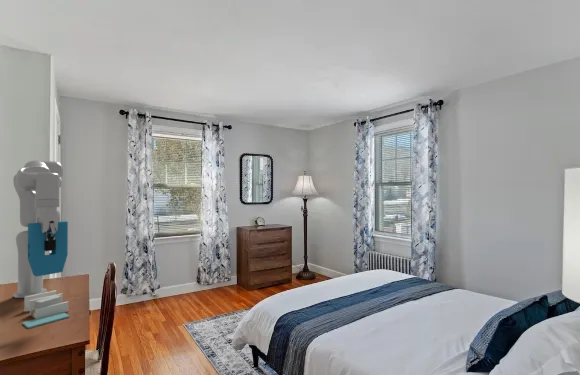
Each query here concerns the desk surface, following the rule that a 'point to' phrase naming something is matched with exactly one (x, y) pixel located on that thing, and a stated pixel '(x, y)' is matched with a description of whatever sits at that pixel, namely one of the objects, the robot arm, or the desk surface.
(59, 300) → the upper offcut
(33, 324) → the mat
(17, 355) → the desk surface
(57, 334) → the desk surface
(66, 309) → the rack
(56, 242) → the block
